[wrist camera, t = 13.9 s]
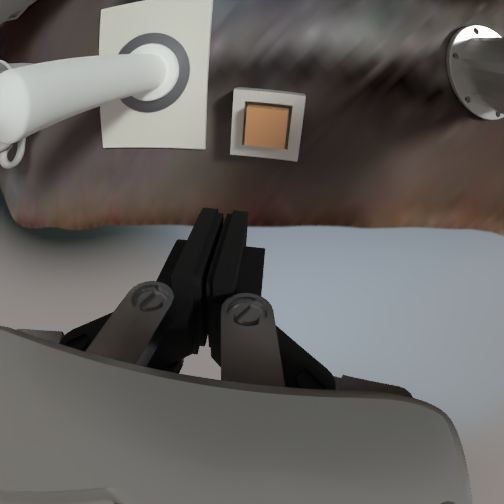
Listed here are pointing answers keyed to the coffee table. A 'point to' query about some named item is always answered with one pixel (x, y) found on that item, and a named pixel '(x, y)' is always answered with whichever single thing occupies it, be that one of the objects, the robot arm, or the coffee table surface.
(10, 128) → the candle
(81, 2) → the coffee table surface
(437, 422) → the robot arm
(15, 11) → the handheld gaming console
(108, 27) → the paper sheet
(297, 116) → the button housing
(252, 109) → the button
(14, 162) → the teacup
